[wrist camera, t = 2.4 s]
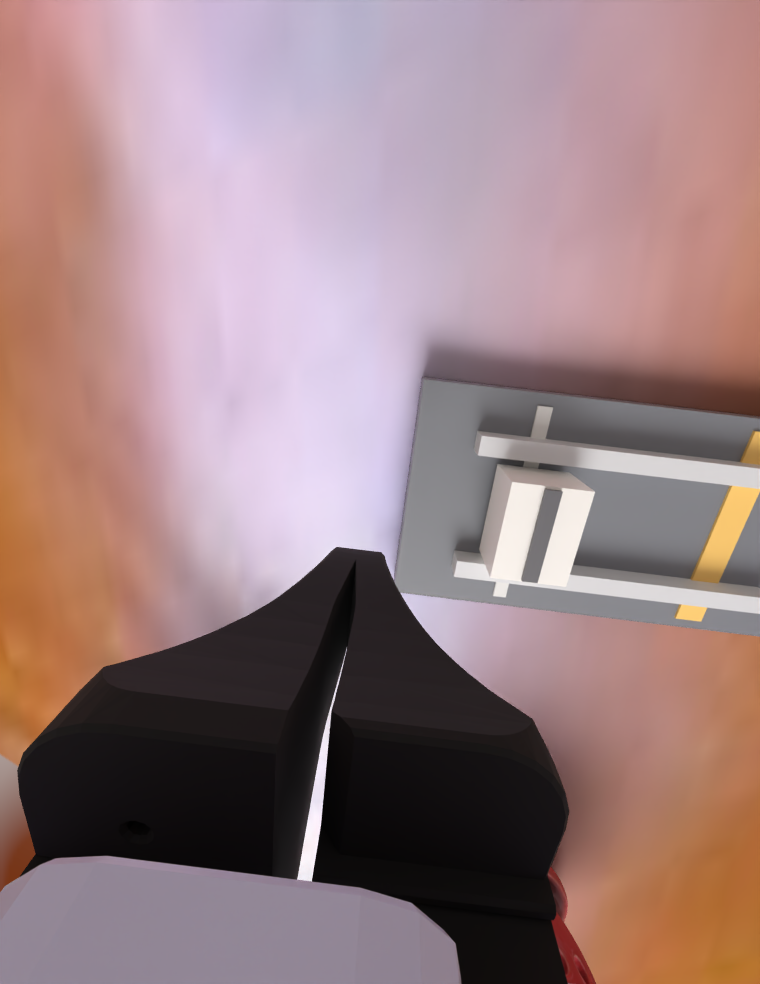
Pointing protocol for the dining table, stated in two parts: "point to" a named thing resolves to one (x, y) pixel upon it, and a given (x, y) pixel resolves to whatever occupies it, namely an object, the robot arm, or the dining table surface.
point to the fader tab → (534, 524)
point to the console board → (614, 510)
